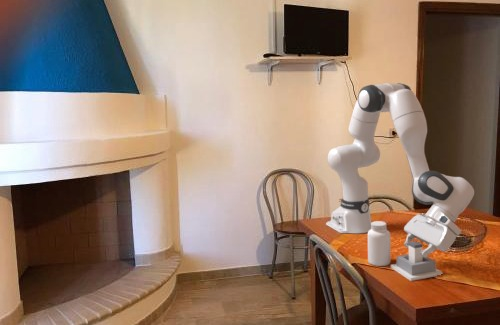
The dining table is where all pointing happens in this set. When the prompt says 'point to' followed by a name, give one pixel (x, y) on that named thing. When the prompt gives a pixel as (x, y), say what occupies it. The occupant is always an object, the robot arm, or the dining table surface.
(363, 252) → the dining table surface
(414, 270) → the socket
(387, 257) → the pill bottle
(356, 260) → the dining table surface
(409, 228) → the robot arm
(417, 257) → the plug
